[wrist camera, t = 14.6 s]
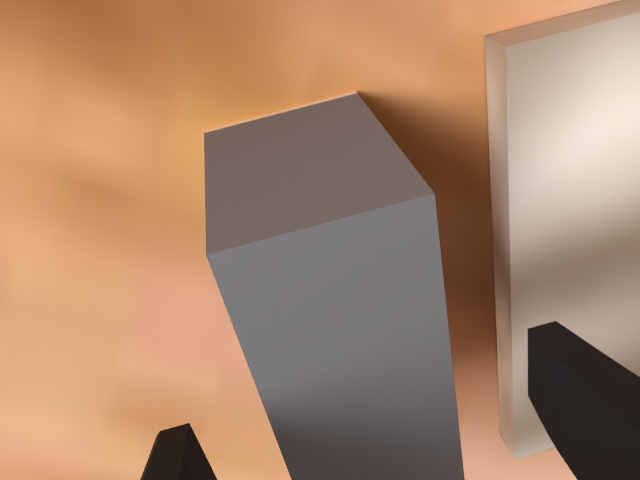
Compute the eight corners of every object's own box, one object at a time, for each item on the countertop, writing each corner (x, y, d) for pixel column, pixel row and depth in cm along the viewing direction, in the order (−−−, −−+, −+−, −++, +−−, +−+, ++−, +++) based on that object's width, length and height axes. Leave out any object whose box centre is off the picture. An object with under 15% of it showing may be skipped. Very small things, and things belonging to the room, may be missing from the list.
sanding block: (398, 341, 20) (466, 496, 15) (285, 372, 20) (315, 540, 14) (354, 89, 15) (435, 193, 10) (203, 128, 15) (205, 254, 10)
